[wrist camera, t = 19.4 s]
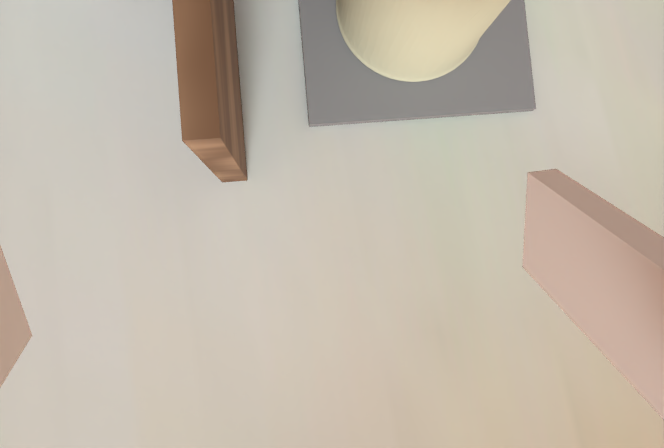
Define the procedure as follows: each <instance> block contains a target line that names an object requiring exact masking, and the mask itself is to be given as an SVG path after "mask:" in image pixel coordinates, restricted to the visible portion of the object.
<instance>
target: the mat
mask: <svg viewBox="0 0 664 448" xmlns="http://www.w3.org/2000/svg"><path fill="white" fill-rule="evenodd" d="M299 12H300V24H301V36H302V48H303V59H304V71H305V83H306V95H307V107H308V119H309V127H313V126H327V125H341V124H355V123H369V122H383V121H397V120H411V119H425V118H439V117H453V116H467V115H481V114H495V113H509V112H523V111H533V110H534V109H536V104H535V95H534V86H533V77H532V67H531V58H530V49H529V40H528V31H527V21H526V12H525V3H524V0H511V1H510V2H509V3H508V4H507V6H506V7H505V8H504V9H503V10H502V12H501V13H500V14H499V15H498V16H497V18H496V19H495V20H494V21H493V23H492V24H491V25H490V26H489V27H488V29H487V30H486V31H485V32H484V33H483V35H482V36H481V37H480V39H479V41H478V43H477V45H476V47H475V48H474V50H473V51H472V53H471V54H470V55H469V57H468V58H467V59H466V60H465V61H464V62H463V63H462V64H461V65H459V66H458V67H457V68H455V69H454V70H452V71H451V72H449V73H447V74H445V75H443V76H441V77H438V78H435V79H432V80H427V81H420V82H406V81H399V80H394V79H390V78H388V77H385V76H382V75H380V74H378V73H376V72H374V71H373V70H371V69H370V68H368V67H367V66H366V65H364V64H363V63H362V62H361V61H360V60H359V59H358V58H357V57H356V56H355V55H354V54H353V52H352V51H351V50H350V48H349V47H348V46H347V44H346V42H345V40H344V38H343V36H342V34H341V31H340V28H339V25H338V21H337V15H336V0H299Z"/></svg>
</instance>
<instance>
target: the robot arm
mask: <svg viewBox="0 0 664 448" xmlns="http://www.w3.org/2000/svg"><path fill="white" fill-rule="evenodd" d="M522 267H523V268H524V269H525V270H526V271H527V273H528V274H529V275H530V276H531V277H532V278H533V279H534V280H535V281H536V282H537V283H538V284H539V286H540V287H541V288H542V289H543V290H544V291H545V292H546V293H547V294H548V295H549V296H550V297H551V299H552V300H553V301H554V302H555V303H556V304H557V305H558V306H559V307H560V308H561V309H562V310H563V311H564V313H565V314H566V315H567V316H568V317H569V318H570V319H571V320H572V321H573V322H574V323H575V324H576V326H577V327H578V328H579V329H580V330H581V331H582V332H583V333H584V334H585V335H586V336H587V337H588V339H589V340H590V341H591V342H592V343H593V344H594V345H595V346H596V347H597V348H598V349H599V350H600V351H601V353H602V354H603V355H604V356H605V357H606V358H607V359H608V360H609V361H610V362H611V363H612V364H613V366H614V367H615V368H616V369H617V370H618V371H619V372H620V373H621V374H622V375H623V376H624V377H625V379H626V380H627V381H628V382H629V383H630V384H631V385H632V386H633V387H634V388H635V389H636V390H637V391H638V393H639V394H640V395H641V396H642V397H643V398H644V399H645V400H646V401H647V402H648V403H649V404H650V406H651V407H652V408H653V409H654V410H655V411H656V412H657V413H658V414H659V415H660V416H661V417H662V419H663V420H664V237H662V236H661V235H659V234H658V233H656V232H654V231H653V230H651V229H650V228H648V227H647V226H645V225H643V224H642V223H640V222H639V221H637V220H636V219H634V218H632V217H631V216H629V215H628V214H626V213H625V212H623V211H622V210H620V209H618V208H617V207H615V206H614V205H612V204H611V203H609V202H607V201H606V200H604V199H603V198H601V197H600V196H598V195H596V194H595V193H593V192H592V191H590V190H589V189H587V188H585V187H584V186H582V185H581V184H579V183H578V182H576V181H574V180H573V179H571V178H570V177H568V176H567V175H565V174H563V173H562V172H560V171H559V170H557V169H551V170H543V171H535V172H528V174H527V193H526V211H525V229H524V248H523V266H522ZM31 336H32V334H31V331H30V328H29V325H28V322H27V319H26V317H25V314H24V311H23V308H22V305H21V302H20V300H19V297H18V294H17V291H16V288H15V285H14V283H13V280H12V277H11V274H10V271H9V268H8V266H7V263H6V260H5V257H4V254H3V251H2V249H1V246H0V387H1V385H2V384H3V382H4V381H5V379H6V377H7V376H8V374H9V372H10V371H11V369H12V367H13V366H14V364H15V363H16V361H17V359H18V358H19V356H20V354H21V353H22V351H23V350H24V348H25V346H26V345H27V343H28V341H29V340H30V338H31Z"/></svg>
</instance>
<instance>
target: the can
mask: <svg viewBox="0 0 664 448" xmlns="http://www.w3.org/2000/svg"><path fill="white" fill-rule="evenodd" d="M510 1H511V0H336V15H337V21H338V25H339V28H340V31H341V34H342V36H343V38H344V40H345V42H346V44H347V46H348V47H349V48H350V50H351V51H352V52H353V54H354V55H355V56H356V57H357V58H358V59H359V60H360V61H361V62H362V63H363V64H364V65H366V66H367V67H368V68H370V69H371V70H373V71H374V72H376V73H378V74H380V75H382V76H385V77H388V78H390V79H394V80H399V81H406V82H420V81H427V80H432V79H435V78H438V77H441V76H443V75H445V74H447V73H449V72H451V71H452V70H454V69H455V68H457V67H458V66H459V65H461V64H462V63H463V62H464V61H465V60H466V59H467V58H468V57H469V55H470V54H471V53H472V51H473V50H474V48H475V47H476V45H477V43H478V41H479V39H480V37H481V36H482V35H483V33H484V32H485V31H486V30H487V29H488V27H489V26H490V25H491V24H492V23H493V21H494V20H495V19H496V18H497V16H498V15H499V14H500V13H501V12H502V10H503V9H504V8H505V7H506V6H507V4H508V3H509V2H510Z"/></svg>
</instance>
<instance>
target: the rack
mask: <svg viewBox="0 0 664 448" xmlns="http://www.w3.org/2000/svg"><path fill="white" fill-rule="evenodd" d="M172 2H173V16H174V30H175V45H176V59H177V73H178V87H179V101H180V115H181V129H182V141H183V142H184V143H185V144H186V145H187V146H188V147H189V148H190V149H191V150H192V151H193V152H194V153H195V154H196V155H197V156H198V157H199V158H200V160H201V161H202V162H203V163H204V164H205V165H206V166H207V167H208V168H209V169H210V170H211V171H212V172H213V173H214V174H215V175H216V176H217V177H218V178H219V179H220V180H221V181H222V182H232V181H245V180H247V170H246V157H245V144H244V131H243V118H242V105H241V92H240V79H239V67H238V54H237V41H236V28H235V15H234V2H233V0H172Z"/></svg>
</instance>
